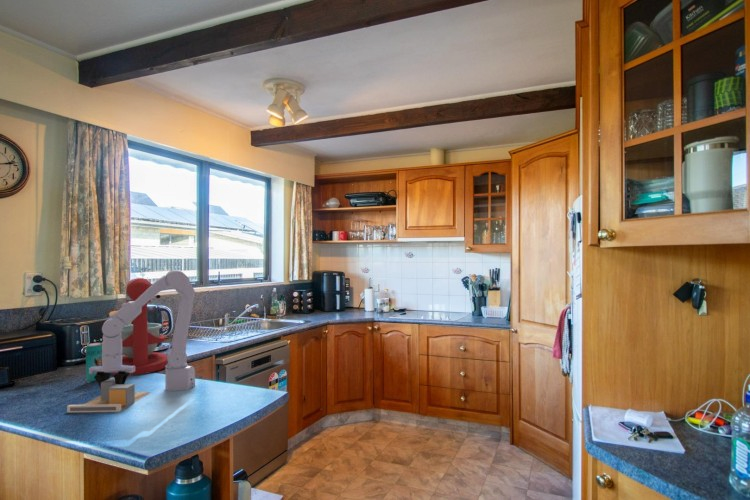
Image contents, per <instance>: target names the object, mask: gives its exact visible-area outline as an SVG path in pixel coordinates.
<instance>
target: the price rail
mask: <svg viewBox="0 0 750 500" xmlns="http://www.w3.org/2000/svg"><path fill="white" fill-rule="evenodd" d="M66 407H67V410H66V412H76V413H118V412H121V411H122V410H121V404H87V405H83V404H68V405H67V406H66Z"/></svg>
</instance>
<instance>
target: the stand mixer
mask: <svg viewBox="0 0 750 500" xmlns="http://www.w3.org/2000/svg"><path fill="white" fill-rule="evenodd" d="M152 284H153V283H151V282H150V281H149V280H148V279H146V278H143V277H137V278H134V279H131V280H130V281H129V282H127V284H126V289H125V290H126V293H125V299H126V301H125V304H126V303H127V302H129V301H135V300H136V299H138V298H139V297H140V296H141V295H142V294H143V293H144V292H145V291H146V290H147V289H148V288H149V287H150V286H151V285H152ZM154 298H156V299H160V298H161V295H160V294H156V295H155V296H154V297H153V298H152V299H150V300H149V301H148V302H147V303H146V304H145V305H143V306H142V312H141V313H140V314H139V315H138V316H137V317H136V318H135V319H134V320H133V321H132V322H130V323H129V324H128V325H127V326H124V327H123V329H122V332H121V339H122V365H128V366H135V372H133V373H130V374H129V375H128V377H129V376H137V375H145V374H150V373H154V372H158V371H160V370H162V369H165V368H166V367H165V366H166V365H167V364H168V360H167V358H166V353H162V352H154V351H155V349H157V346H158V344H159V343H163V342H165V341H166V340H167V339H166V338H167V337H166V335H165V334H164V333H162V332H160V331H161V328H162V327H163V325H162V324H161V323H156V322H149V320H148V304H149V303H151V302H152V301H151V300H153V299H154ZM116 374H118V373H110V375H113V376H114V375H116Z"/></svg>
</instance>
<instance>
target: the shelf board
mask: <svg viewBox="0 0 750 500" xmlns="http://www.w3.org/2000/svg"><path fill="white" fill-rule="evenodd" d="M151 393H152V392H150V391H147V392H146V391H145V392H142V391H138V392H136V391H135V402H134V403H133V404H135V403H136V402H138V401H139V400H141V399H143V398H144V397H146V396H148V395H149V394H151ZM87 404H108V401H101V395H99V396H97V397H95V398H92V399H90V400H89V401H87V402H85V403H82V405H87ZM129 406H131V405H129ZM129 406H128V407H129ZM126 408H127V407H121V411H123V410H125V409H126ZM66 412H67V411H66ZM68 413H72V414H73V413H77V412H67V414H68Z"/></svg>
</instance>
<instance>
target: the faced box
mask: <svg viewBox="0 0 750 500" xmlns="http://www.w3.org/2000/svg"><path fill="white" fill-rule="evenodd" d="M135 386H136V385H135V383H125V384H116V385H114V386H112V387H110V388H108V404H121V407H126V408H127V407H128V408H129V405H130V406H131V405H133V404H135V403H136V402H135V392H136V391H135ZM134 402H135V403H134Z"/></svg>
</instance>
